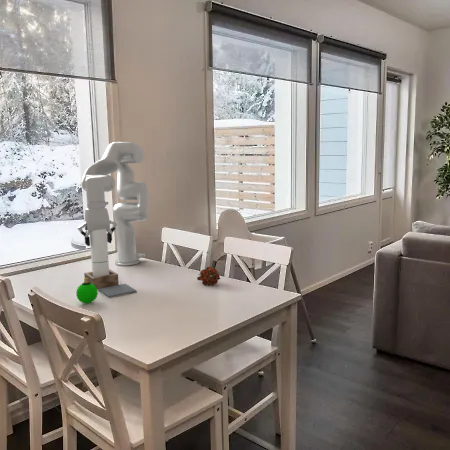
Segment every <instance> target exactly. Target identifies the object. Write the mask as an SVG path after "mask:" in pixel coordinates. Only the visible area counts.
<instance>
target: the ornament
mask: <svg viewBox="0 0 450 450" xmlns="http://www.w3.org/2000/svg"><path fill="white" fill-rule="evenodd" d="M85 280H87V281H85ZM98 292H99V290H98V289H97V288H96V286H95V285H93V284H92V283H90V282H88V278H85V277H84V278H83V282H82V283H81V284H80V285H79V286H78V287H77V288H76V297H77V299H78V301H79V302H81V303H83V304H91V303H93V302H94V301H95V300H96V299H97V298H98Z"/></svg>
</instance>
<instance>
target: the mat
mask: <svg viewBox="0 0 450 450" xmlns="http://www.w3.org/2000/svg"><path fill="white" fill-rule="evenodd" d="M98 292H100V293H102V294H103V295H104V296H106V297H107V298H109V299H110V298H114V297H119V296H124V295H129V294H130V295H131V294H134V293H137V289H135V288H134V287H132V286H130V285H129V284H127V283H122V284H119V285H116V286H110V287H105V288H100V289H98Z"/></svg>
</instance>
